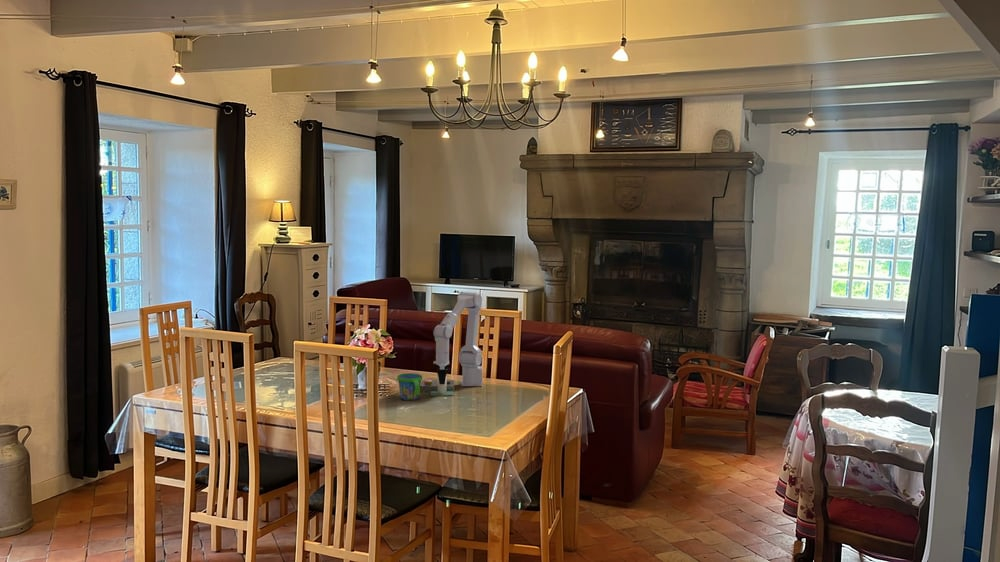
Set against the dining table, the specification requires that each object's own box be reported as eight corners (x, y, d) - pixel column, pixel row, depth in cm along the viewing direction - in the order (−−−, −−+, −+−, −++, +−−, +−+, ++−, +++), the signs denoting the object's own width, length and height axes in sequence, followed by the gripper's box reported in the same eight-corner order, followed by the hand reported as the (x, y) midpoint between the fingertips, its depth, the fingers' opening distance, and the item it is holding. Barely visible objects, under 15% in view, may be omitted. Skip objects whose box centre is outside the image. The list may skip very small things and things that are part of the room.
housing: (454, 385, 345) (454, 380, 345) (454, 391, 333) (454, 386, 333) (421, 385, 344) (422, 380, 344) (421, 391, 332) (421, 386, 332)
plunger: (432, 386, 340) (432, 379, 340) (431, 387, 337) (431, 381, 336) (424, 386, 340) (424, 379, 340) (424, 387, 336) (424, 381, 336)
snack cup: (427, 402, 314) (427, 378, 313) (403, 404, 310) (403, 380, 309) (415, 393, 328) (415, 371, 327) (392, 395, 323) (392, 373, 323)
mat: (453, 392, 331) (453, 391, 331) (453, 396, 325) (453, 394, 325) (430, 392, 330) (430, 391, 330) (430, 396, 324) (430, 394, 324)
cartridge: (446, 391, 330) (446, 372, 329) (446, 394, 326) (446, 374, 325) (437, 391, 329) (437, 372, 329) (437, 394, 326) (437, 374, 325)
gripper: (433, 349, 333) (433, 378, 334) (433, 355, 319) (432, 385, 320) (449, 349, 333) (449, 378, 335) (449, 355, 319) (449, 385, 320)
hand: (442, 382), depth 327 cm, fingers open, 7 cm apart
